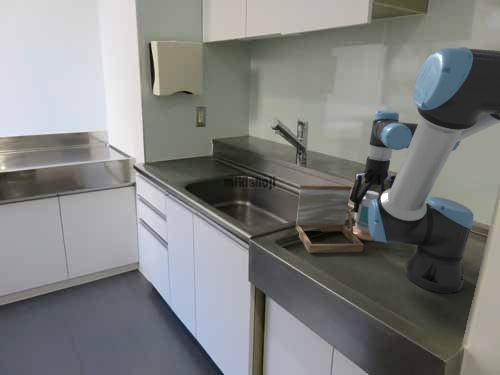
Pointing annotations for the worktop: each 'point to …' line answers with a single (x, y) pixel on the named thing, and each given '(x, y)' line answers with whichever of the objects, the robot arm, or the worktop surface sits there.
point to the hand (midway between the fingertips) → (367, 220)
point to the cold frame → (326, 216)
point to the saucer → (362, 234)
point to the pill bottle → (365, 211)
